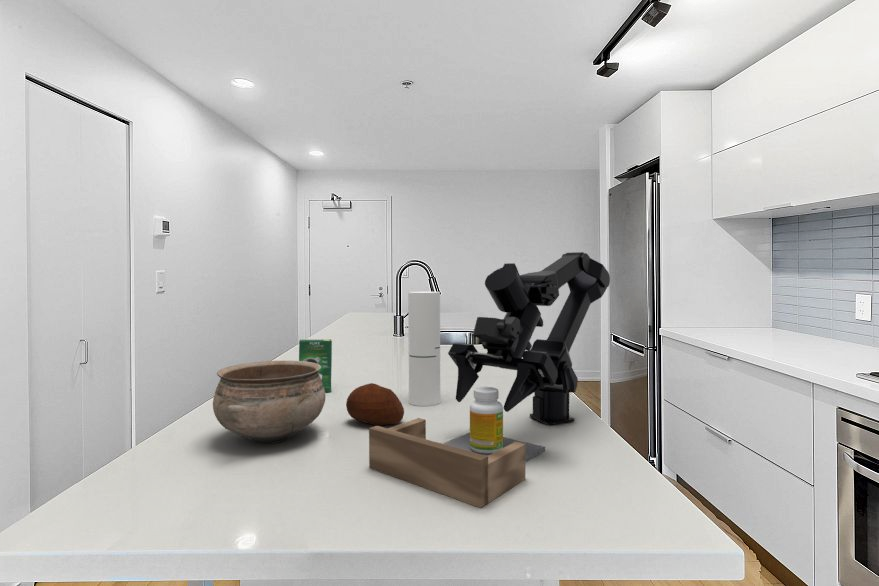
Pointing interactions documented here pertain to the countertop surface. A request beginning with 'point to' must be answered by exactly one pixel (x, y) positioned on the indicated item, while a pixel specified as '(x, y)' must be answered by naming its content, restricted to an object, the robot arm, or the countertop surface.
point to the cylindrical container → (424, 348)
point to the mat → (531, 449)
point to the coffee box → (318, 358)
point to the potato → (374, 405)
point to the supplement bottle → (486, 421)
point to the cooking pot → (268, 399)
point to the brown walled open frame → (445, 463)
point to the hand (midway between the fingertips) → (480, 405)
